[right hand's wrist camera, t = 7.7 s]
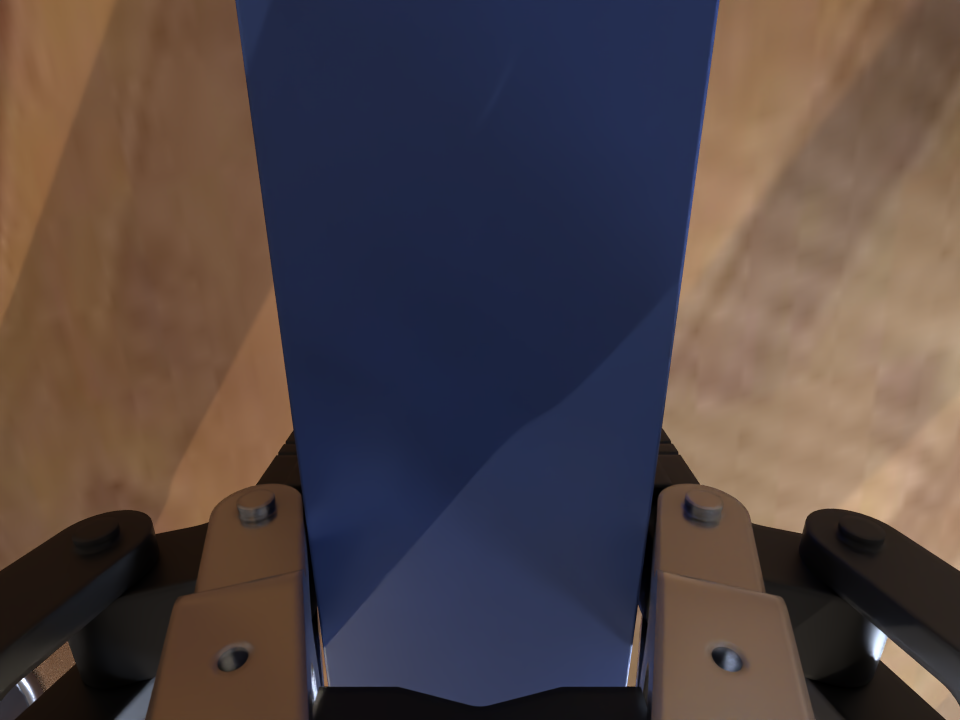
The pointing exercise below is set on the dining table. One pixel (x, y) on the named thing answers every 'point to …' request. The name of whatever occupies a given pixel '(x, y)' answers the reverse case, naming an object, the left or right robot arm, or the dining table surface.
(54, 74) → the dining table surface
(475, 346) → the bar
